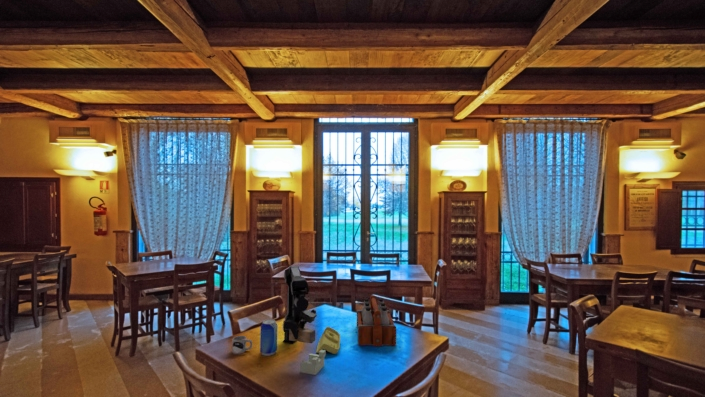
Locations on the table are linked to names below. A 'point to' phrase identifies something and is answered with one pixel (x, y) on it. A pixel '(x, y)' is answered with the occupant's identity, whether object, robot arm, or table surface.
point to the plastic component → (329, 341)
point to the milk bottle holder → (375, 324)
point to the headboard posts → (313, 363)
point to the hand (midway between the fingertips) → (298, 337)
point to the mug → (240, 344)
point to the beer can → (268, 337)
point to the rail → (303, 335)
